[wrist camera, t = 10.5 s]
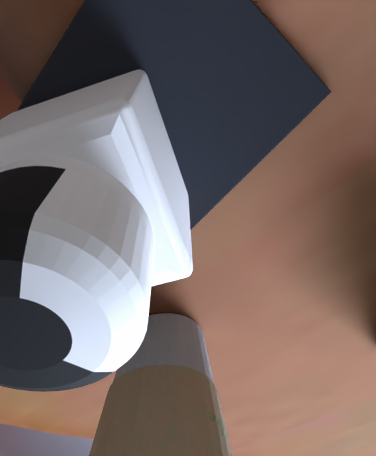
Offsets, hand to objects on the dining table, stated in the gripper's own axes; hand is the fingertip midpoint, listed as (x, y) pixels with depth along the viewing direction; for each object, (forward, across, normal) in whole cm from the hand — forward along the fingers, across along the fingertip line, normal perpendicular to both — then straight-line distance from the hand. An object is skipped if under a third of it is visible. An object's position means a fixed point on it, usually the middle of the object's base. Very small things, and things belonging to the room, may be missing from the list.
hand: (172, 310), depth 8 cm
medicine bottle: (+12, +4, 0) cm, 13 cm away
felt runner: (+13, +3, +1) cm, 13 cm away
